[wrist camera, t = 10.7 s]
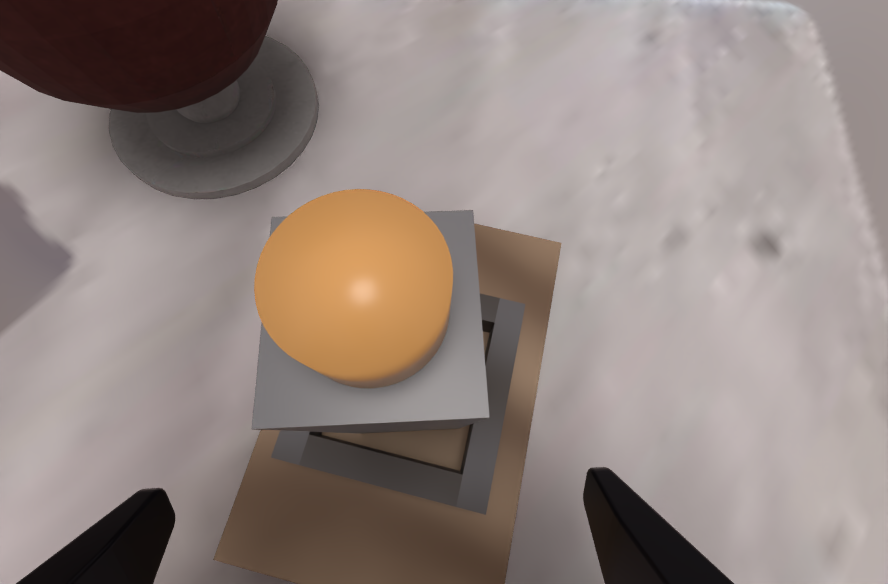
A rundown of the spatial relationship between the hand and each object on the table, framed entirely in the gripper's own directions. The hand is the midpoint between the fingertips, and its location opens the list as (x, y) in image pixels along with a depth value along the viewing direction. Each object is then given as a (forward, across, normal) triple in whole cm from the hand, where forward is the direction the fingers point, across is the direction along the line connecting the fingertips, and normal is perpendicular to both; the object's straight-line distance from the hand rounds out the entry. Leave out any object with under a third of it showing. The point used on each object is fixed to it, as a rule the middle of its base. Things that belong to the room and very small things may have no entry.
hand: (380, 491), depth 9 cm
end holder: (+11, 0, +6) cm, 12 cm away
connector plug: (+10, 0, +5) cm, 11 cm away
